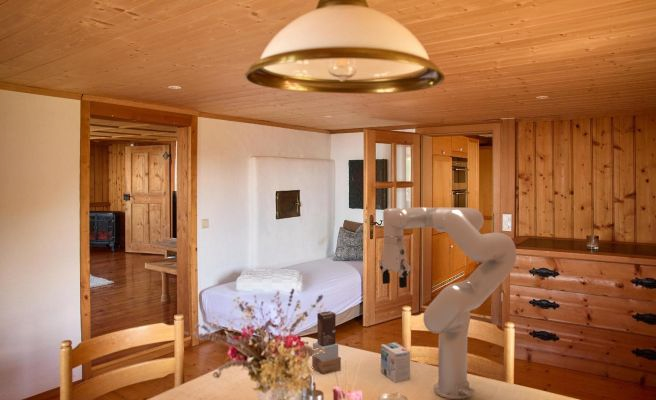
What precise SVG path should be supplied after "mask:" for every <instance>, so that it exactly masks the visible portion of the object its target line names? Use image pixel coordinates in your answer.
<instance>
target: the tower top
mask: <svg viewBox="0 0 656 400" xmlns="http://www.w3.org/2000/svg"><path fill="white" fill-rule="evenodd" d="M316 348H324V349H325V353H319V354H315V355H313V354H312V355H313V356H314V357H316V358H318V359H319V360H321V361H327V360H330V359H334V358H338V357H339V344H338V343H336V342H335V344H331V345H326V346H321V345H319V344H318V341H316V342H312V350H313V349H316Z"/></svg>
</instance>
